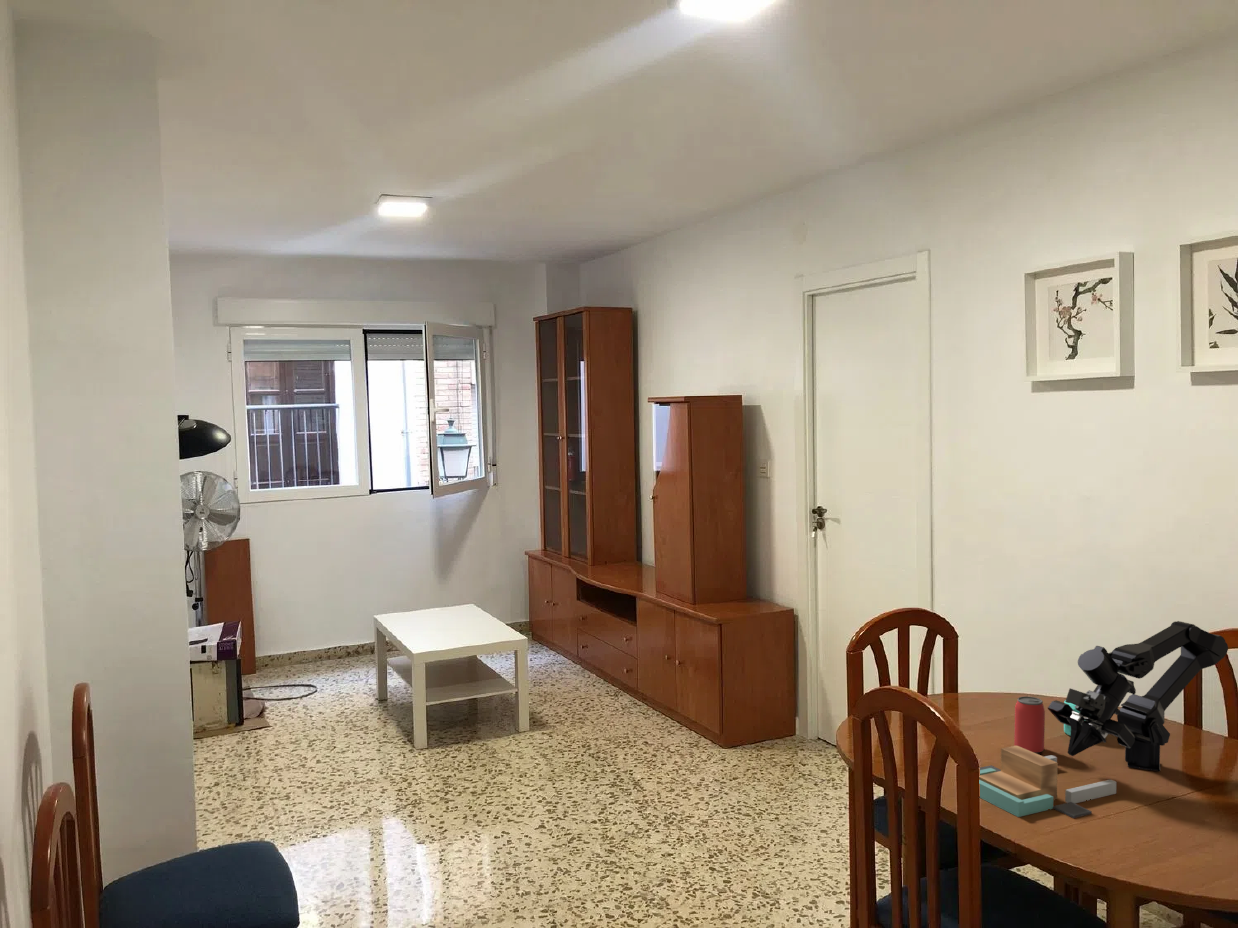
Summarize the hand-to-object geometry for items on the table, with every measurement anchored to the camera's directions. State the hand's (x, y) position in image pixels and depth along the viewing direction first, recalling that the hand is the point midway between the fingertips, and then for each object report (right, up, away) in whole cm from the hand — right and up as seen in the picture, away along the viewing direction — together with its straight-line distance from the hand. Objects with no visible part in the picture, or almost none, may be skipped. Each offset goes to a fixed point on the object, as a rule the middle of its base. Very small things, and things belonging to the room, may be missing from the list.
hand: (1070, 754), depth 211 cm
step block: (-14, -7, -6) cm, 16 cm away
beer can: (0, -5, +20) cm, 21 cm away
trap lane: (-9, -7, -3) cm, 12 cm away
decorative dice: (+17, -4, +31) cm, 35 cm away
